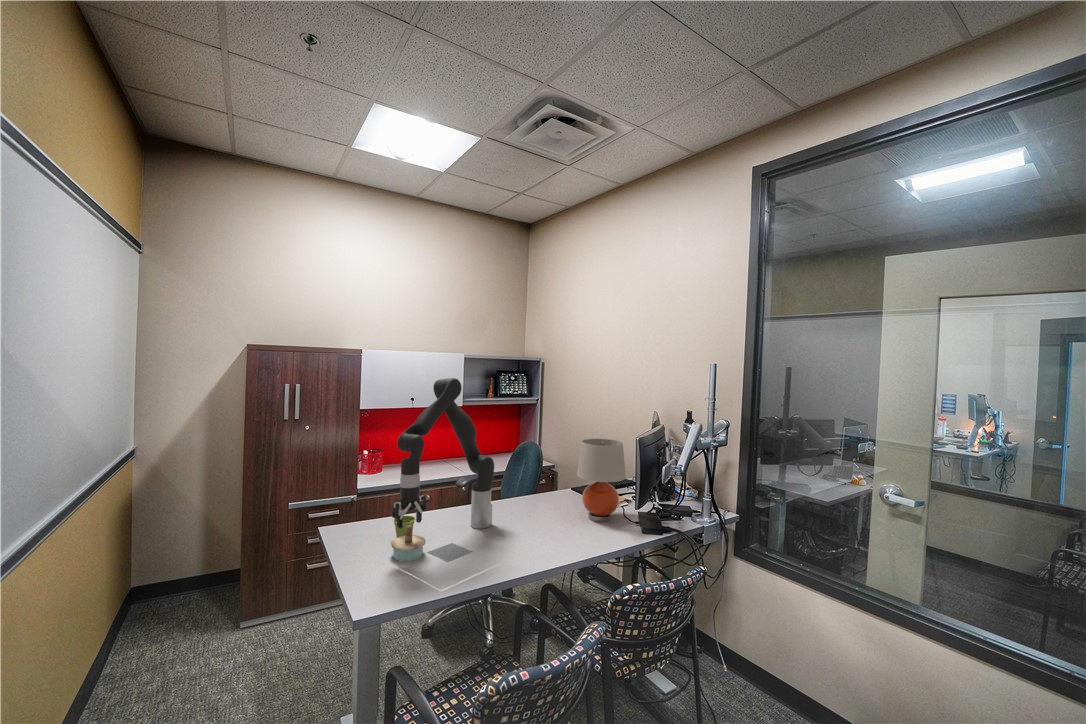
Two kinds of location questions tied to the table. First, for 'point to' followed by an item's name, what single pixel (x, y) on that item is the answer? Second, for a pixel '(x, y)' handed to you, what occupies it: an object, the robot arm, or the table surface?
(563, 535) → the table surface
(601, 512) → the lamp
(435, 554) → the mat
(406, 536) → the lid
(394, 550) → the bowl
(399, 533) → the plant pot
